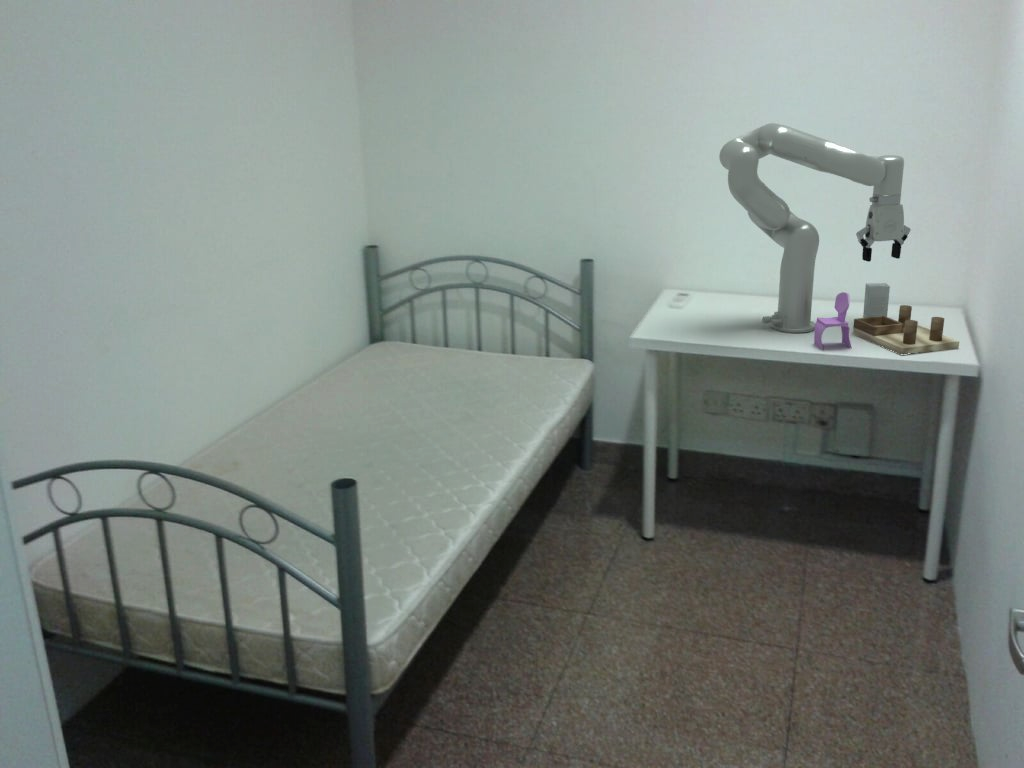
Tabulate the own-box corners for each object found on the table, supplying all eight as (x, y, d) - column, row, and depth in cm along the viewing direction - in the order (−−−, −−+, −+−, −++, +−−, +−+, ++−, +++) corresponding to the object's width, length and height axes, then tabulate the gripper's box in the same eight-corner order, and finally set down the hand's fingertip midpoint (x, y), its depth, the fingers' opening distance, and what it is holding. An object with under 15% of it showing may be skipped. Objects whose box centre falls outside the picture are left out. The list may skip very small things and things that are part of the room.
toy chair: (811, 342, 274) (815, 290, 269) (841, 341, 274) (846, 289, 269) (822, 351, 266) (826, 297, 261) (853, 349, 267) (858, 296, 262)
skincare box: (882, 321, 292) (886, 282, 288) (886, 325, 288) (890, 286, 284) (861, 321, 292) (865, 282, 288) (865, 325, 288) (868, 286, 284)
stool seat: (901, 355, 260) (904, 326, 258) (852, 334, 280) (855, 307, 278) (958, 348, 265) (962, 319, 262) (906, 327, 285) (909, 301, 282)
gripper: (868, 204, 272) (862, 264, 278) (921, 199, 277) (914, 259, 282) (852, 200, 279) (847, 259, 285) (904, 196, 283) (898, 254, 289)
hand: (881, 259), depth 284 cm, fingers open, 9 cm apart
